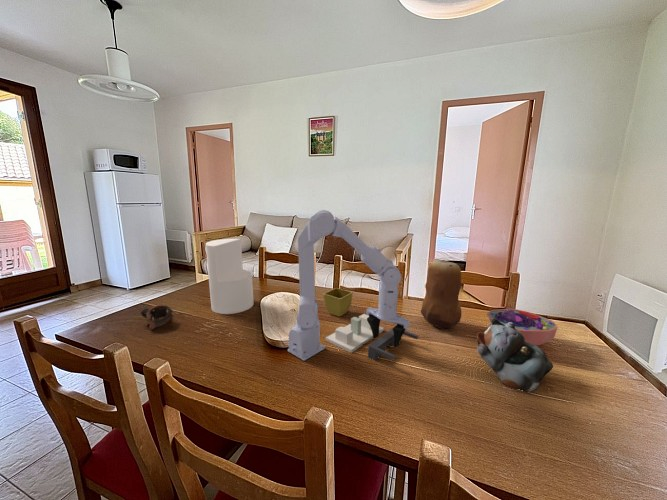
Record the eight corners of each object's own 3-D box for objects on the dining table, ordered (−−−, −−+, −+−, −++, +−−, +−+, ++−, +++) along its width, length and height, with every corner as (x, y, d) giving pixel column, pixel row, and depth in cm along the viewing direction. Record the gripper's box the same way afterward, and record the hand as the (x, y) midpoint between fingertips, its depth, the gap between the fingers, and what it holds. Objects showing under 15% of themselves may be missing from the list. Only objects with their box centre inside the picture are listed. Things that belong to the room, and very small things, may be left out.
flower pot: (340, 320, 108) (340, 298, 106) (322, 314, 114) (322, 293, 112) (352, 312, 115) (353, 292, 113) (335, 307, 120) (336, 287, 118)
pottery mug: (180, 317, 111) (178, 304, 105) (166, 338, 103) (164, 325, 98) (148, 310, 110) (145, 297, 104) (133, 331, 102) (128, 318, 97)
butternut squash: (452, 318, 111) (459, 257, 105) (464, 335, 98) (473, 267, 92) (417, 316, 112) (421, 256, 107) (424, 333, 99) (430, 265, 94)
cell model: (566, 359, 84) (573, 325, 82) (494, 351, 88) (499, 319, 86) (538, 332, 100) (543, 303, 98) (478, 326, 104) (482, 298, 102)
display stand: (351, 352, 87) (351, 334, 86) (325, 340, 94) (325, 323, 93) (383, 330, 101) (384, 314, 99) (359, 321, 108) (359, 306, 107)
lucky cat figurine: (523, 401, 67) (495, 341, 69) (480, 386, 80) (457, 335, 81) (565, 366, 73) (538, 311, 74) (518, 358, 86) (496, 311, 87)
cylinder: (202, 310, 116) (195, 244, 110) (228, 295, 132) (224, 237, 126) (237, 316, 111) (232, 247, 105) (261, 300, 127) (257, 240, 121)
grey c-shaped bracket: (392, 369, 79) (393, 357, 78) (367, 357, 85) (368, 345, 84) (417, 346, 91) (418, 335, 90) (394, 337, 96) (395, 326, 95)
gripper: (415, 304, 84) (412, 344, 87) (375, 292, 94) (373, 329, 97) (404, 311, 79) (401, 354, 82) (363, 298, 89) (361, 337, 92)
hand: (385, 341), depth 89 cm, fingers open, 7 cm apart
